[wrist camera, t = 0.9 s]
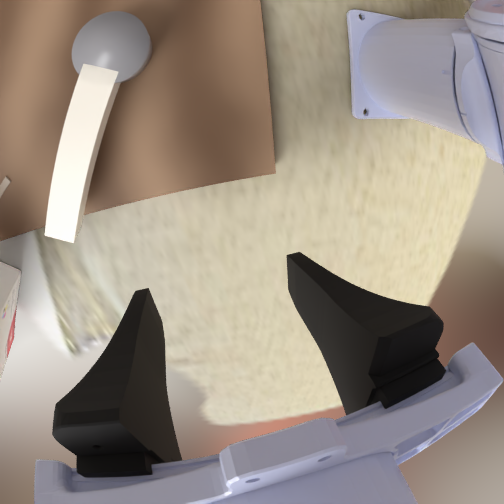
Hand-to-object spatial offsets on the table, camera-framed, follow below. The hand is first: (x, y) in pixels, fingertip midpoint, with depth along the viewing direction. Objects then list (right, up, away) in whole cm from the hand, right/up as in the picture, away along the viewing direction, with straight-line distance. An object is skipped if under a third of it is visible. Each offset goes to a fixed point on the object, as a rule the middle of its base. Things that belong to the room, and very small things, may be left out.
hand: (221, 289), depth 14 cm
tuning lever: (-7, +9, +1) cm, 11 cm away
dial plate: (-8, +12, 0) cm, 14 cm away
